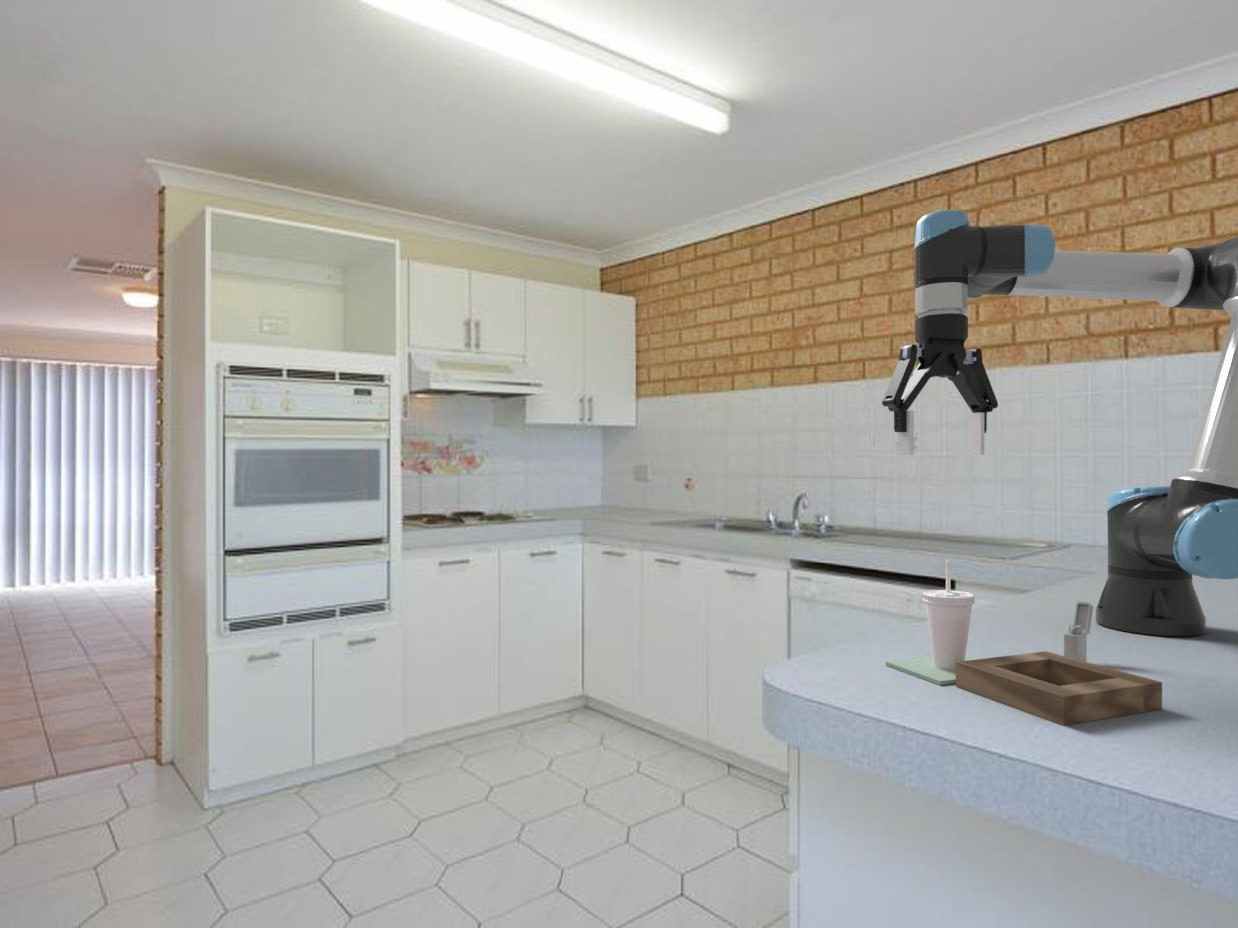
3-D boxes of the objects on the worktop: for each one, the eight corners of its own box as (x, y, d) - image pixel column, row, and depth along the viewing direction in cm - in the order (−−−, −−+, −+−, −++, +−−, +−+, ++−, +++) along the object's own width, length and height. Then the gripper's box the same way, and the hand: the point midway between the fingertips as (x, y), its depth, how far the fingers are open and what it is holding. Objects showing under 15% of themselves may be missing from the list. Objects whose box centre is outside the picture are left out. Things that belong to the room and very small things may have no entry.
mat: (955, 657, 109) (955, 653, 109) (1013, 675, 100) (1013, 671, 100) (885, 665, 105) (885, 661, 105) (940, 685, 96) (940, 681, 96)
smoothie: (972, 662, 105) (972, 559, 105) (977, 674, 99) (977, 565, 98) (921, 658, 107) (921, 557, 107) (923, 670, 101) (923, 563, 101)
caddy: (1046, 674, 101) (1046, 651, 101) (1162, 708, 87) (1162, 682, 87) (955, 686, 95) (955, 661, 95) (1063, 725, 81) (1063, 696, 81)
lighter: (1077, 667, 104) (1077, 608, 104) (1063, 665, 105) (1063, 606, 105) (1093, 658, 109) (1093, 601, 109) (1079, 656, 110) (1079, 600, 110)
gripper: (984, 324, 126) (984, 454, 126) (858, 315, 118) (858, 454, 118) (1023, 316, 119) (1023, 454, 119) (891, 306, 110) (891, 454, 111)
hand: (941, 454), depth 118 cm, fingers open, 13 cm apart
